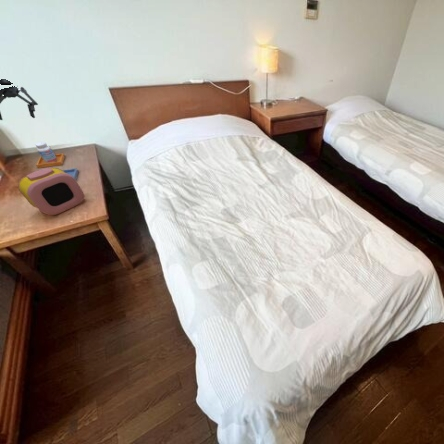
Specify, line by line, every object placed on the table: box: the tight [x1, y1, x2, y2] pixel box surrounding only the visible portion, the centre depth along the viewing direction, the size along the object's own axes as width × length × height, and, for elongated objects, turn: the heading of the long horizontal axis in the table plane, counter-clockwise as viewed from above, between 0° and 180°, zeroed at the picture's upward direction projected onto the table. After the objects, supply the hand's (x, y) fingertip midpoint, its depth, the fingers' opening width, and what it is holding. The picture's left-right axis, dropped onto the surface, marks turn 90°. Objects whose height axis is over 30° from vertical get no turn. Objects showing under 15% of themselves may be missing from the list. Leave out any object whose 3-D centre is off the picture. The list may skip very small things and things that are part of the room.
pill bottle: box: [34, 141, 57, 163], centre depth 146 cm, size 6×6×11 cm
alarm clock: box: [17, 167, 85, 216], centre depth 117 cm, size 18×11×19 cm, turn 151°
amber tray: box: [35, 152, 66, 169], centre depth 150 cm, size 11×11×2 cm
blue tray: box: [62, 167, 79, 181], centre depth 139 cm, size 11×11×2 cm
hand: (16, 118), depth 134 cm, fingers open, 13 cm apart
